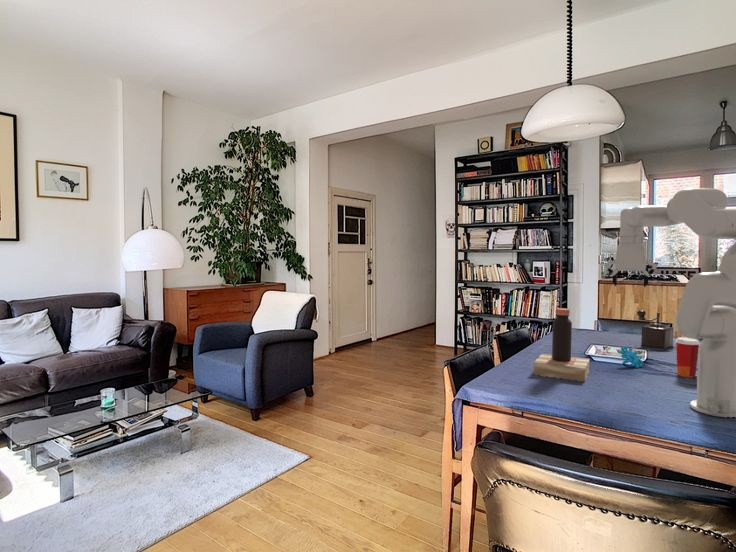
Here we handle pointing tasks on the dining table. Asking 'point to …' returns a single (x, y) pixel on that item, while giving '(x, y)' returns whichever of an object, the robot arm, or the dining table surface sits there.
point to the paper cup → (687, 356)
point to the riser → (562, 368)
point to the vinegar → (561, 336)
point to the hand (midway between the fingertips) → (629, 286)
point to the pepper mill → (655, 333)
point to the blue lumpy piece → (631, 357)
